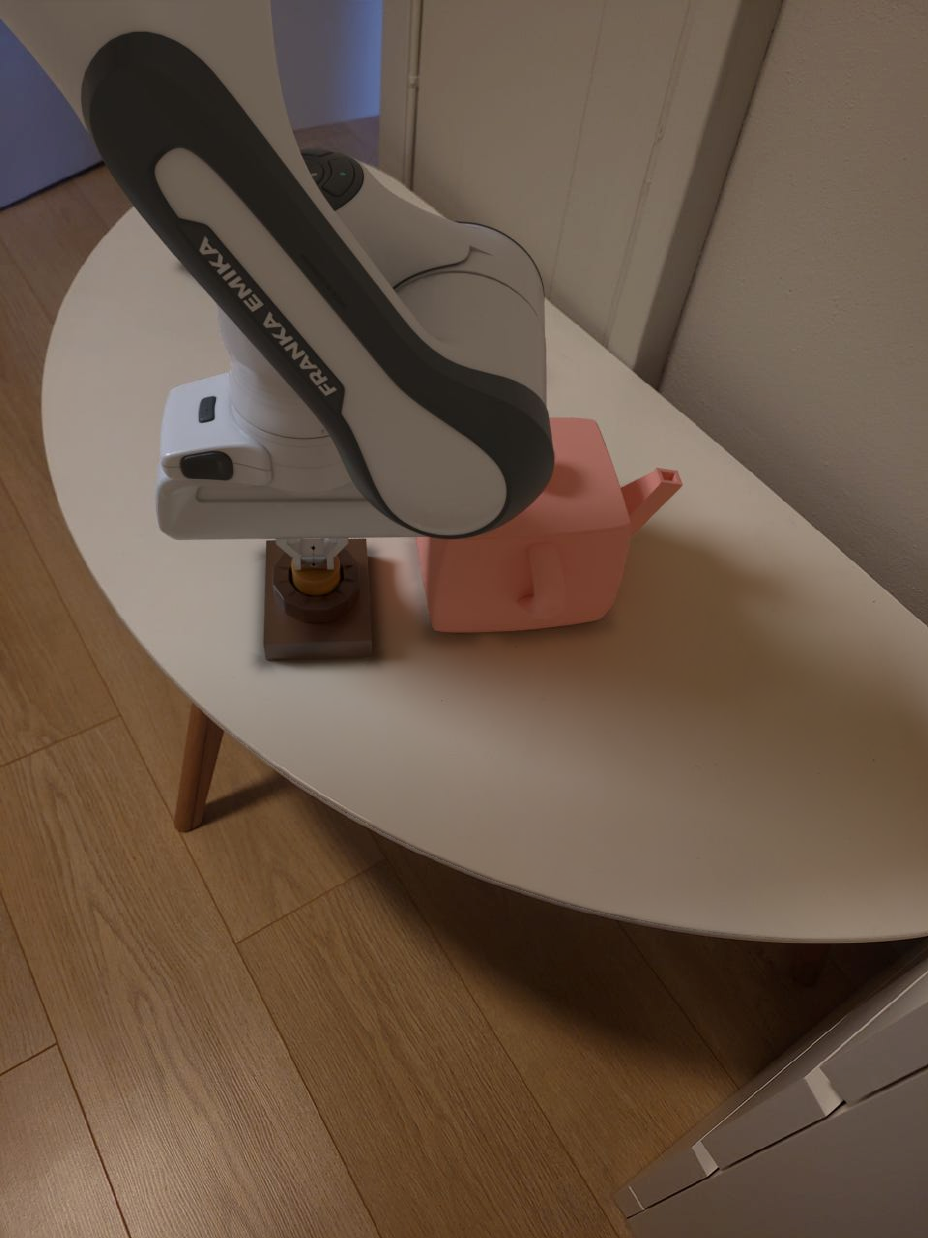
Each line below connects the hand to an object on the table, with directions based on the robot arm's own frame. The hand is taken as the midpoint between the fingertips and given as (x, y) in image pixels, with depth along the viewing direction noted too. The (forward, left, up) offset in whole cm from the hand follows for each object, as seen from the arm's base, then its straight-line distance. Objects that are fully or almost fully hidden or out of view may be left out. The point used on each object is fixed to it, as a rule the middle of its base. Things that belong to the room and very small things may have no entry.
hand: (314, 563), depth 68 cm
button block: (0, 0, -6) cm, 6 cm away
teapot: (+18, +3, -6) cm, 19 cm away
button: (0, 0, -2) cm, 2 cm away
